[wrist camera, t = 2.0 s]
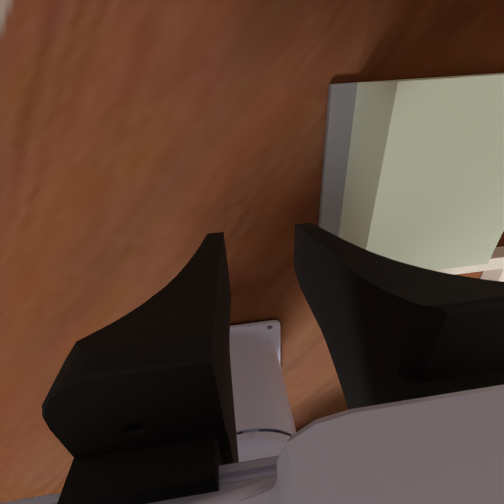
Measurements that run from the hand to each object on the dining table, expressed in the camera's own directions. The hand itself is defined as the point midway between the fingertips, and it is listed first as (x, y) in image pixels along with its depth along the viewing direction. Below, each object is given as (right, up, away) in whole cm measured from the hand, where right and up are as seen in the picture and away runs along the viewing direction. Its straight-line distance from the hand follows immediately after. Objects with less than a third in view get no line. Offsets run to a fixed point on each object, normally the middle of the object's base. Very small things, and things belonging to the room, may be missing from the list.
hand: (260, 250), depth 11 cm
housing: (+10, +5, +8) cm, 14 cm away
